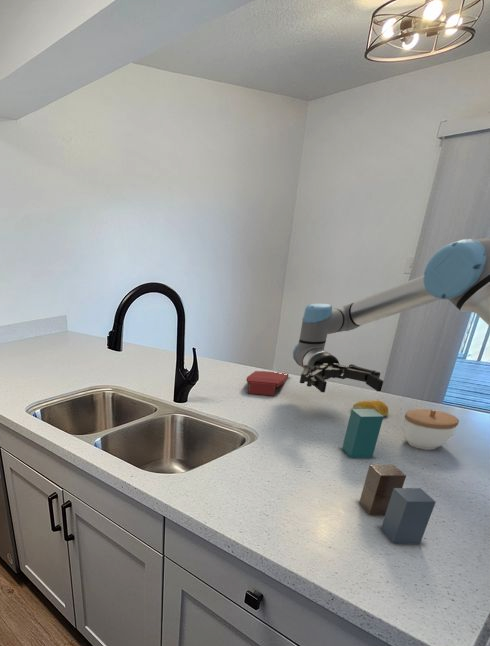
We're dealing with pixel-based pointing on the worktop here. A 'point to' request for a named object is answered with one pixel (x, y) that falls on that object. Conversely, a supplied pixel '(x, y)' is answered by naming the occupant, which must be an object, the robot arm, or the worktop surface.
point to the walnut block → (380, 487)
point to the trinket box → (428, 428)
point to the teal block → (362, 433)
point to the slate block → (407, 515)
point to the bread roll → (372, 406)
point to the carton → (265, 382)
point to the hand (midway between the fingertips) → (352, 386)
